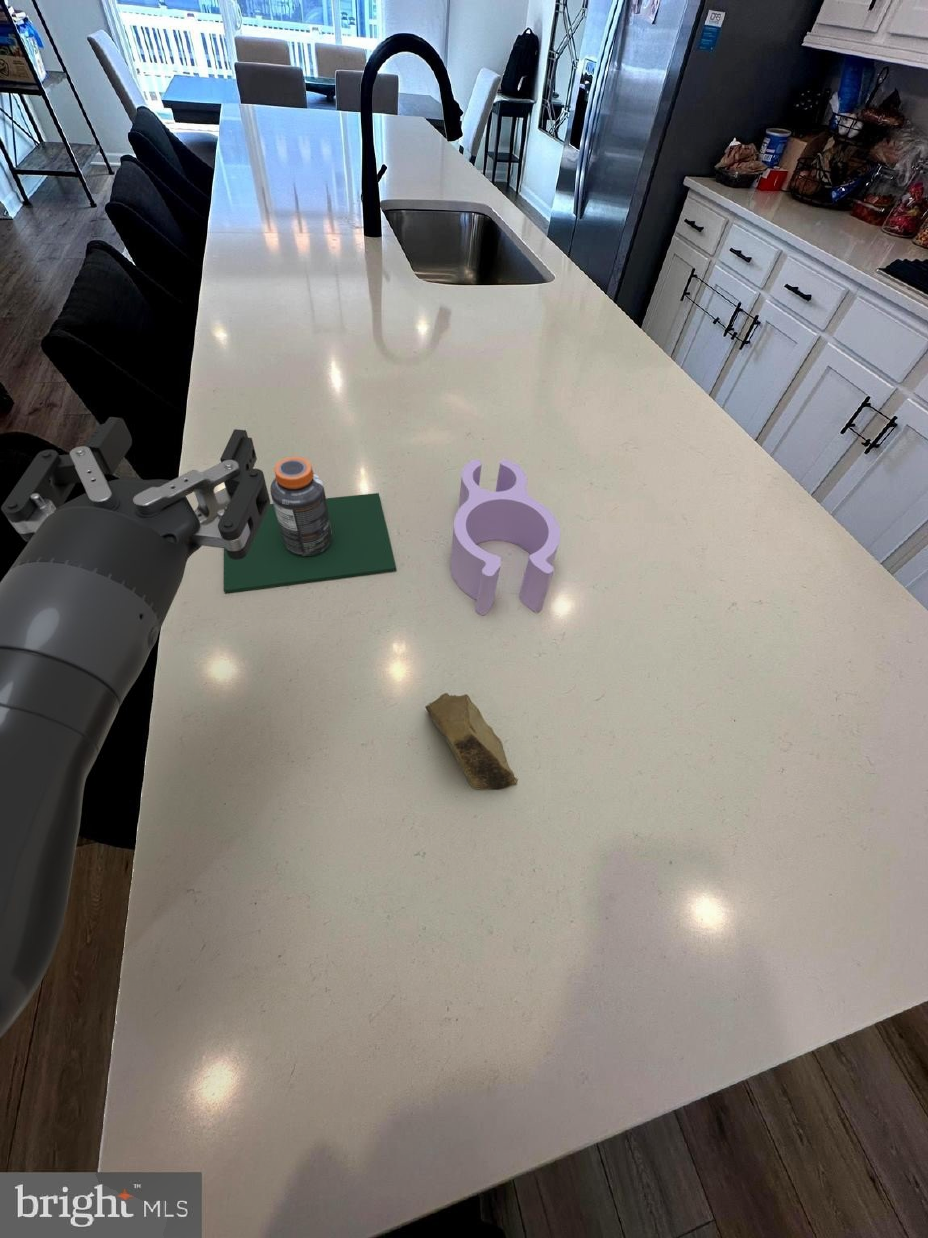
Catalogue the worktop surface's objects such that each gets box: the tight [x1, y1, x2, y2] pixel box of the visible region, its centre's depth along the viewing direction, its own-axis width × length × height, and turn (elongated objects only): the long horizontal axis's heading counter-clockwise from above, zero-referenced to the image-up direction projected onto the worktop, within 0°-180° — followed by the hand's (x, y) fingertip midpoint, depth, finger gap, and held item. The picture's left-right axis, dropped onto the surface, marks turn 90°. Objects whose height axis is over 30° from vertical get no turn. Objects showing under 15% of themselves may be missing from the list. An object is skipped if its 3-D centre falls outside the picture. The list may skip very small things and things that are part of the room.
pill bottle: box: [269, 456, 332, 556], centre depth 65 cm, size 6×6×11 cm
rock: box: [424, 692, 518, 791], centre depth 53 cm, size 11×9×10 cm
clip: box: [449, 458, 561, 616], centre depth 69 cm, size 20×12×7 cm, turn 8°
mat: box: [223, 492, 397, 594], centre depth 70 cm, size 20×14×1 cm
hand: (183, 434), depth 40 cm, fingers open, 8 cm apart
